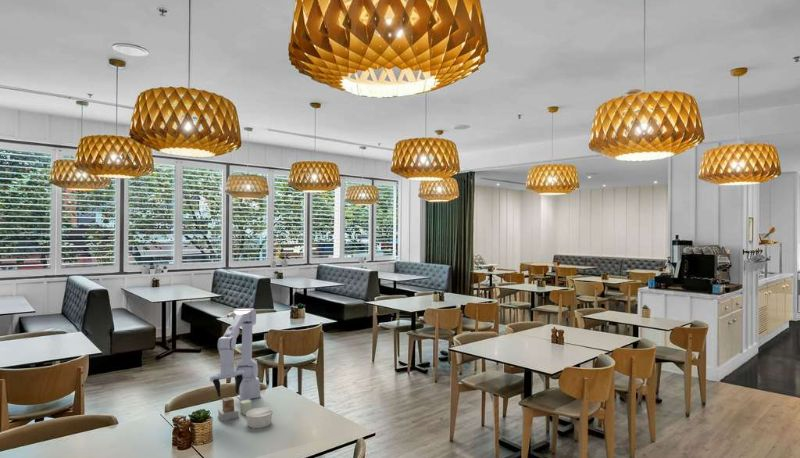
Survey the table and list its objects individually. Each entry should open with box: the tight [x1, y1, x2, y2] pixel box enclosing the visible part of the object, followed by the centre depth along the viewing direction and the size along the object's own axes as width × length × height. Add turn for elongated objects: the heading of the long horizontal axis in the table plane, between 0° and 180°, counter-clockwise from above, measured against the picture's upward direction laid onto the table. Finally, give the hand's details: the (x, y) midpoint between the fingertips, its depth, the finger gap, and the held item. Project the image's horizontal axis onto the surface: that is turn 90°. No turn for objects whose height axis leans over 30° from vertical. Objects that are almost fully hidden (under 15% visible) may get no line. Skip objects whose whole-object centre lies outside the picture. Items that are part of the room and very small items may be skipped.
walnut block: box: [221, 396, 235, 412], centre depth 218 cm, size 4×4×5 cm
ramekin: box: [245, 406, 274, 429], centre depth 209 cm, size 11×11×5 cm
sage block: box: [239, 399, 253, 416], centre depth 223 cm, size 4×4×5 cm
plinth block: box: [217, 405, 240, 422], centre depth 218 cm, size 7×7×3 cm
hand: (228, 394), depth 218 cm, fingers open, 7 cm apart
